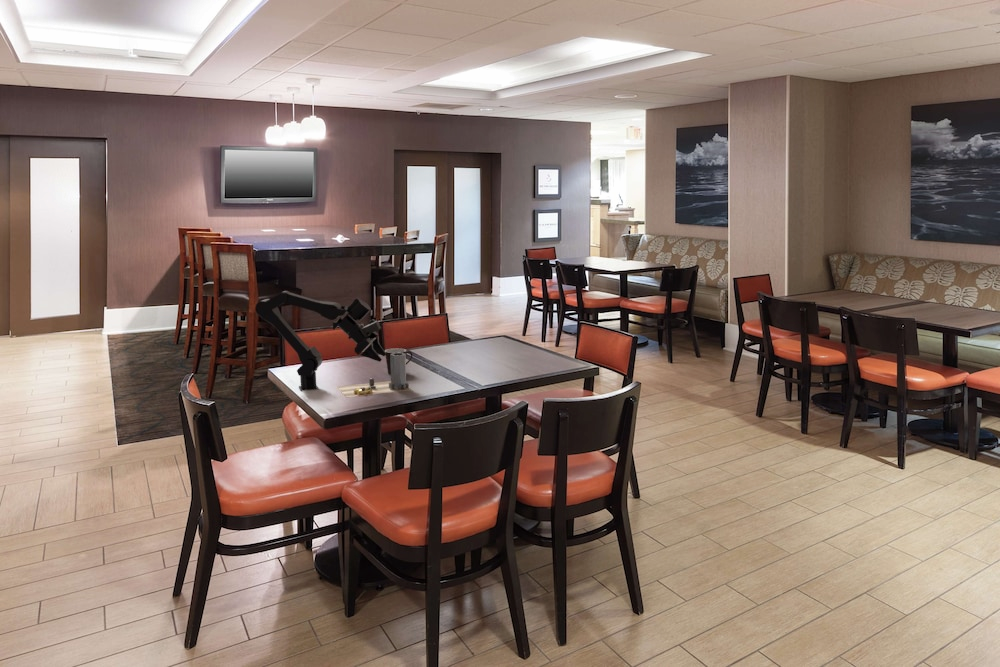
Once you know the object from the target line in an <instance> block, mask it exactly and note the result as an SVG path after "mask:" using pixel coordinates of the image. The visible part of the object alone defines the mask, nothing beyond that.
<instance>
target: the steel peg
mask: <svg viewBox="0 0 1000 667" xmlns="http://www.w3.org/2000/svg"><path fill="white" fill-rule="evenodd" d="M368 383H369V387H368V388H370V389H371V388H372V389H373V388H376V386H374V383H375V379H374V378H373V377H371V378H369V381H368Z"/></svg>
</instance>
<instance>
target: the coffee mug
mask: <svg viewBox="0 0 1000 667" xmlns="http://www.w3.org/2000/svg"><path fill="white" fill-rule="evenodd" d="M384 352H385V353H386V355H385V360H386V361H385V362H386V369H387V374H388V375H389V376H391V362H390V355H391V354H392V353H405V354H406V355H407V354H410V358H409V359H408V360H407V362H406V365H408V363H410V362H411V360H412V359H413V353H412V352H411V351H407V349H406V348H388V349H384Z"/></svg>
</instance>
